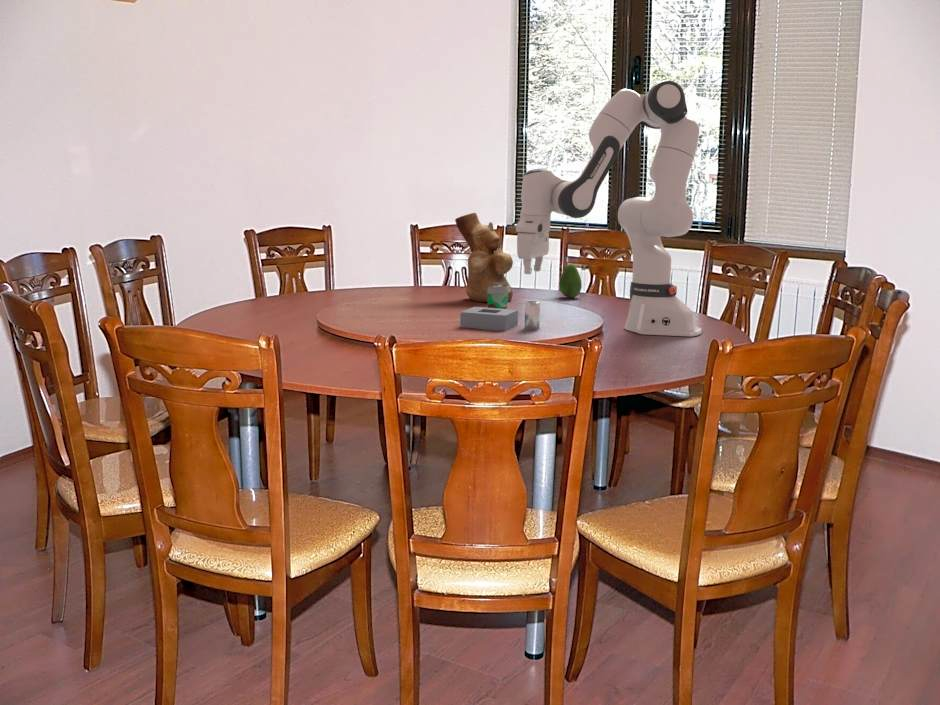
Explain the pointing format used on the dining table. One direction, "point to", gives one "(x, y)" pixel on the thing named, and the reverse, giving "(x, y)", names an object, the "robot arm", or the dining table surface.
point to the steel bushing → (532, 315)
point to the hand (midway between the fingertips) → (532, 272)
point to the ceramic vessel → (483, 257)
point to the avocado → (570, 282)
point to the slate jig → (489, 318)
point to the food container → (498, 295)
